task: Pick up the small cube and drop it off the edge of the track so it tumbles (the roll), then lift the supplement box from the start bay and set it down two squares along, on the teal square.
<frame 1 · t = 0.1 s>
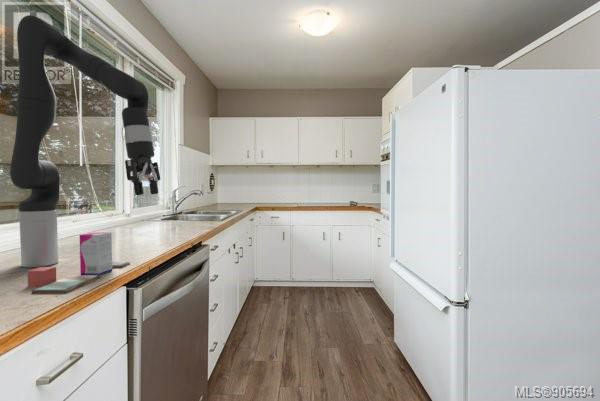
hand: (147, 194, 98), 22 cm above the countertop, tool pointing down, fingers open, 8 cm apart
supplement box: (97, 273, 92), on the countertop
cube: (42, 284, 81), on the countertop
track: (88, 276, 88), on the countertop
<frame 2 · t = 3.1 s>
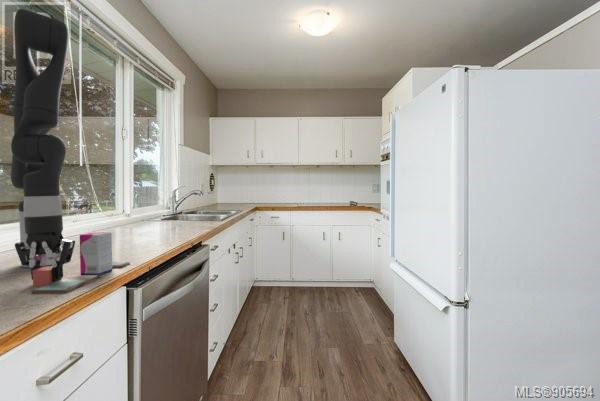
hand: (47, 280, 81), 1 cm above the countertop, tool pointing down, fingers closed on cube, 4 cm apart
cube: (47, 283, 81), on the countertop, touching gripper
everything else where it was.
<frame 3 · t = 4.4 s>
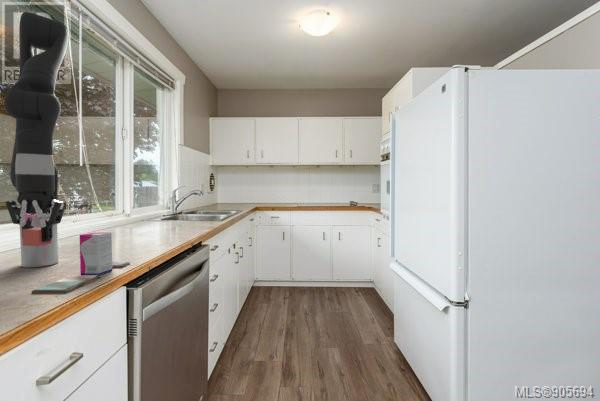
hand: (37, 240, 80), 11 cm above the countertop, tool pointing down, fingers closed on cube, 4 cm apart
cube: (37, 244, 81), point 10 cm above the countertop, touching gripper
everything else where it was.
when the fingers open (7 cm above the countertop, at t = 5.4 s): cube drops 5 cm and tips over, point 2 cm above the countertop.
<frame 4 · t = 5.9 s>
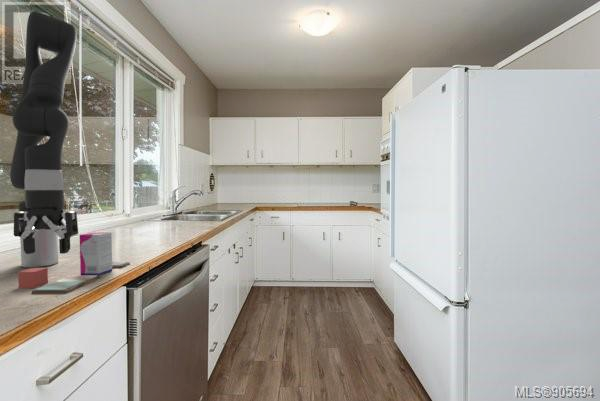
hand: (47, 253, 80), 8 cm above the countertop, tool pointing down, fingers open, 8 cm apart
cube: (41, 277, 80), point 2 cm above the countertop, tilted 90°
everything else where it was.
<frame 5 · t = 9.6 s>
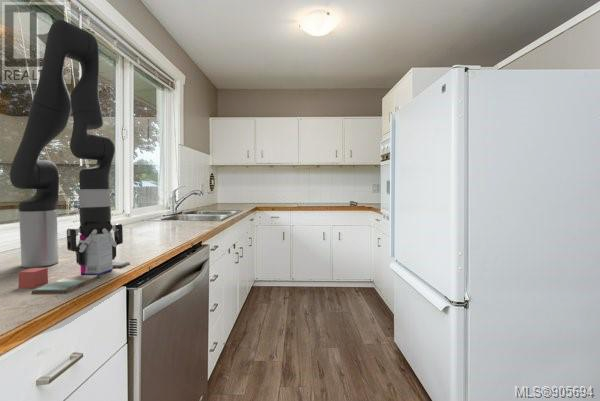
hand: (97, 262, 91), 3 cm above the countertop, tool pointing down, fingers closed on supplement box, 7 cm apart
supplement box: (97, 273, 92), on the countertop, touching gripper
everything else where it was.
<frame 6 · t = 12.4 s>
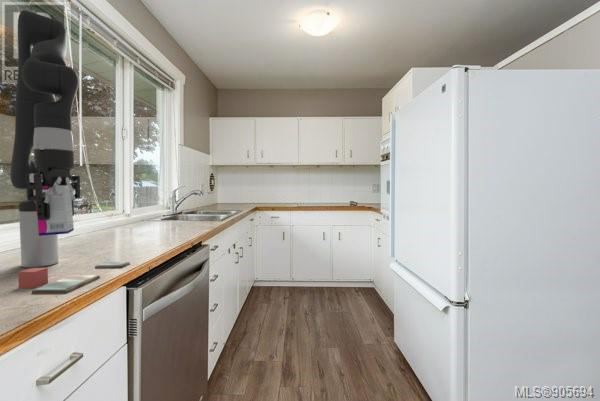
hand: (56, 217, 76), 17 cm above the countertop, tool pointing down, fingers closed on supplement box, 7 cm apart
supplement box: (57, 233, 77), point 13 cm above the countertop, touching gripper
everything else where it was.
when the fingers open (5 cm above the countertop, at t = 15.2 s): supplement box stays where it is, resting on track.
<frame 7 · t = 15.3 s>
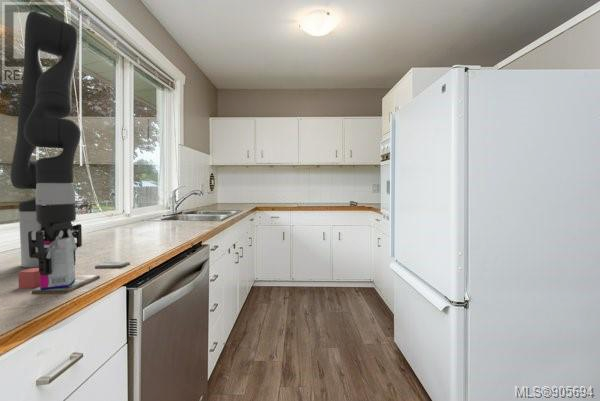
hand: (58, 270, 77), 5 cm above the countertop, tool pointing down, fingers open, 7 cm apart
supplement box: (58, 285, 77), point 1 cm above the countertop, touching track
everything else where it was.
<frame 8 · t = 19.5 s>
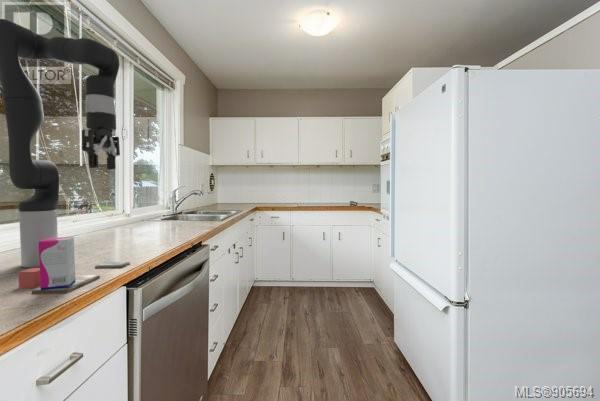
hand: (102, 168, 94), 30 cm above the countertop, tool pointing down, fingers open, 8 cm apart
nothing on the countertop moved.
at the end: supplement box 0.3 cm from the target spot, point 0.6 cm above the countertop; supplement box tilted 0°; the gripper is holding nothing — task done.
